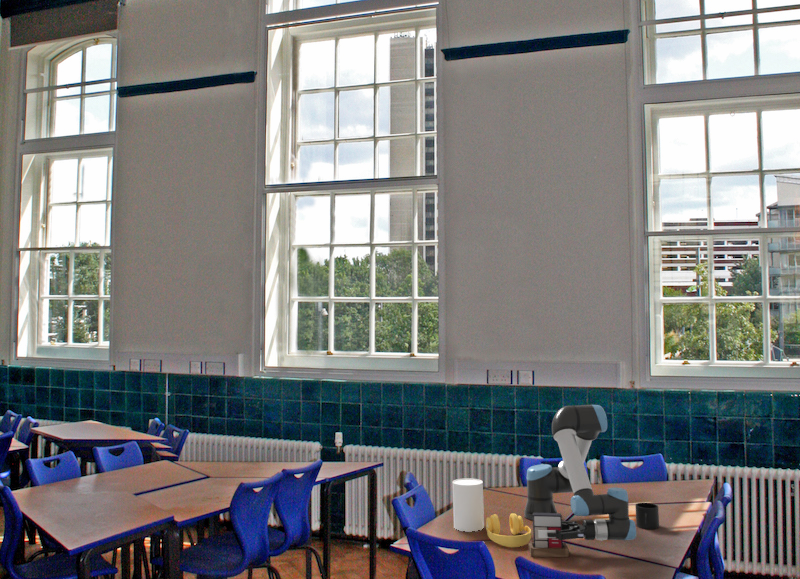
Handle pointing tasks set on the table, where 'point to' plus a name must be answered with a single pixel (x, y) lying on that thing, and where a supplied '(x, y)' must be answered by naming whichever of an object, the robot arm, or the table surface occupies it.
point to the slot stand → (548, 551)
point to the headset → (515, 527)
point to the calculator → (547, 523)
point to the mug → (647, 515)
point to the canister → (468, 504)
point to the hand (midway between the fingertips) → (536, 529)
